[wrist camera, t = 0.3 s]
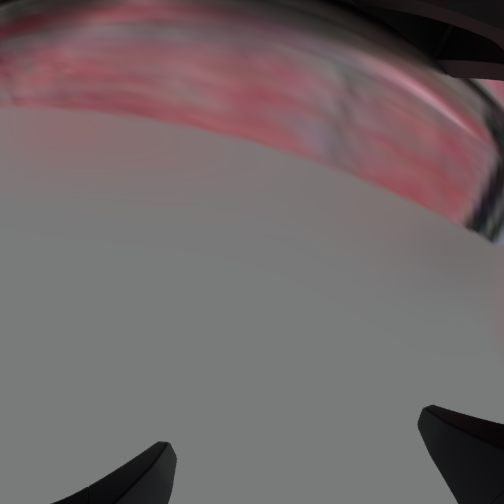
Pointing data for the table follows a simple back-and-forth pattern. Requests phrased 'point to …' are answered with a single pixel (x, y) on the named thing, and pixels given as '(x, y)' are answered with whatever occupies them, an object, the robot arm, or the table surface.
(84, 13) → the table surface
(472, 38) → the phone stand
